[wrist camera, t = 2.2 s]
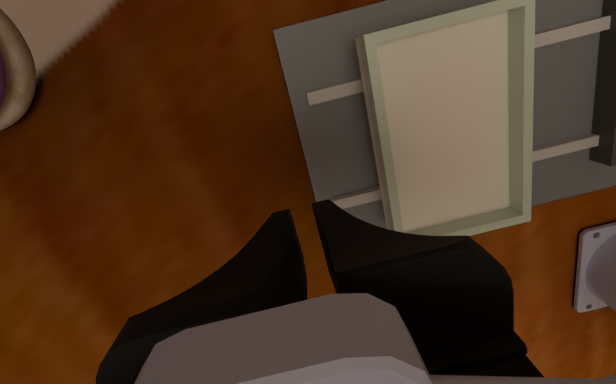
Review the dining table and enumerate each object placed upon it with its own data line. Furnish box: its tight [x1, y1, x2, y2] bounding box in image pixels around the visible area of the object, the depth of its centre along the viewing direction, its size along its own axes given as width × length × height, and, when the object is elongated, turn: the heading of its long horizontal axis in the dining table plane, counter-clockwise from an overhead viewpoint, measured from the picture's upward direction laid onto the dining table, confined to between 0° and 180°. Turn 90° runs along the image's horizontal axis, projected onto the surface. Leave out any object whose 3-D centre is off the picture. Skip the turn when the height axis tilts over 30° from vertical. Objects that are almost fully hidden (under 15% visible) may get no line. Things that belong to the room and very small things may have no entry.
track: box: [273, 0, 616, 229], centre depth 20 cm, size 22×15×2 cm
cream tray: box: [355, 0, 535, 236], centre depth 18 cm, size 8×12×3 cm, turn 13°
